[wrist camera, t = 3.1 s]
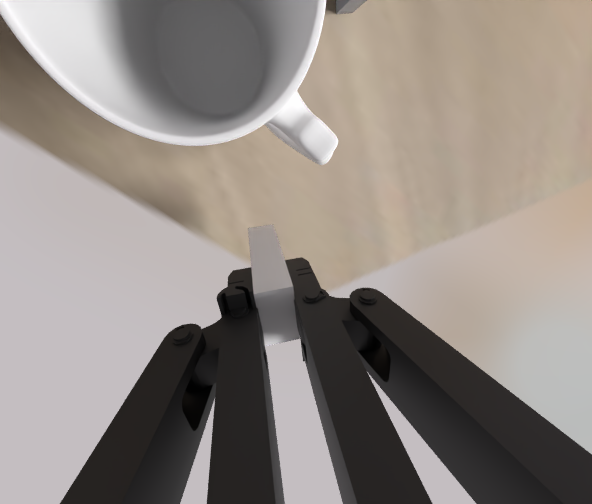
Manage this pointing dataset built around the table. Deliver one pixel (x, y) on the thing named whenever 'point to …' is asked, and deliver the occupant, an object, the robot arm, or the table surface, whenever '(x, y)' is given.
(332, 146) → the mug
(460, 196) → the table surface
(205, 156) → the table surface
